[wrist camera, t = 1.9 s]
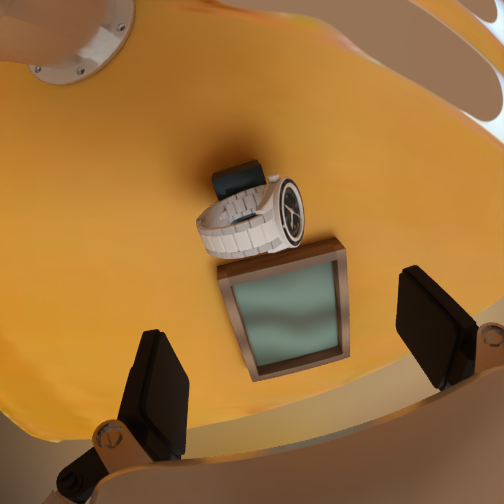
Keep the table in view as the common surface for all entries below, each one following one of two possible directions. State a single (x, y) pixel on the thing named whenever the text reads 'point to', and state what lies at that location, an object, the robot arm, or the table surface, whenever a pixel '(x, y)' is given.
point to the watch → (251, 213)
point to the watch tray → (289, 308)
